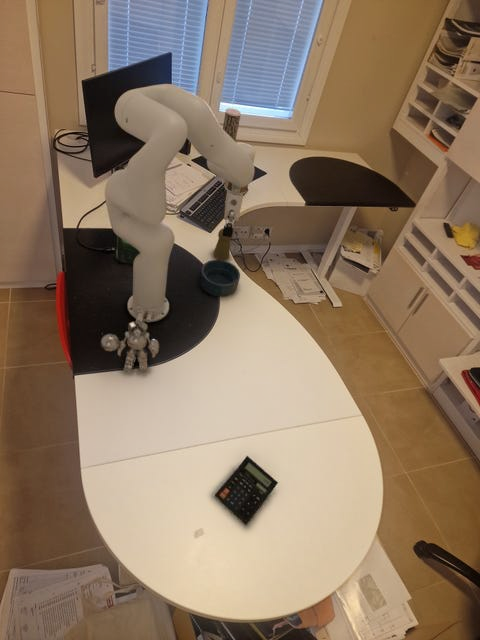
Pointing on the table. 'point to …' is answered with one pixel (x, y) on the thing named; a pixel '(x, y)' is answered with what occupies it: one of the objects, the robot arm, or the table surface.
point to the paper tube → (231, 122)
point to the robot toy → (132, 345)
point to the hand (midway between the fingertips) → (227, 227)
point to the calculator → (246, 490)
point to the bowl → (219, 277)
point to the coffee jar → (125, 252)
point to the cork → (222, 247)
